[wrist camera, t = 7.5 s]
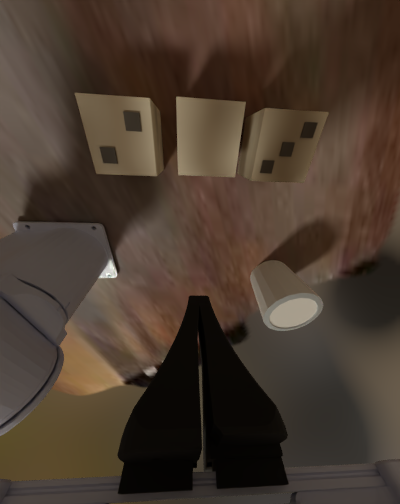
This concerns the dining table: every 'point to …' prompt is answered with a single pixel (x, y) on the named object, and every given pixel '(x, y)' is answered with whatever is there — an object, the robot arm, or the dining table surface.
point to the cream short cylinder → (283, 297)
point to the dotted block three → (280, 144)
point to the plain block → (208, 136)
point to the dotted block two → (122, 134)
